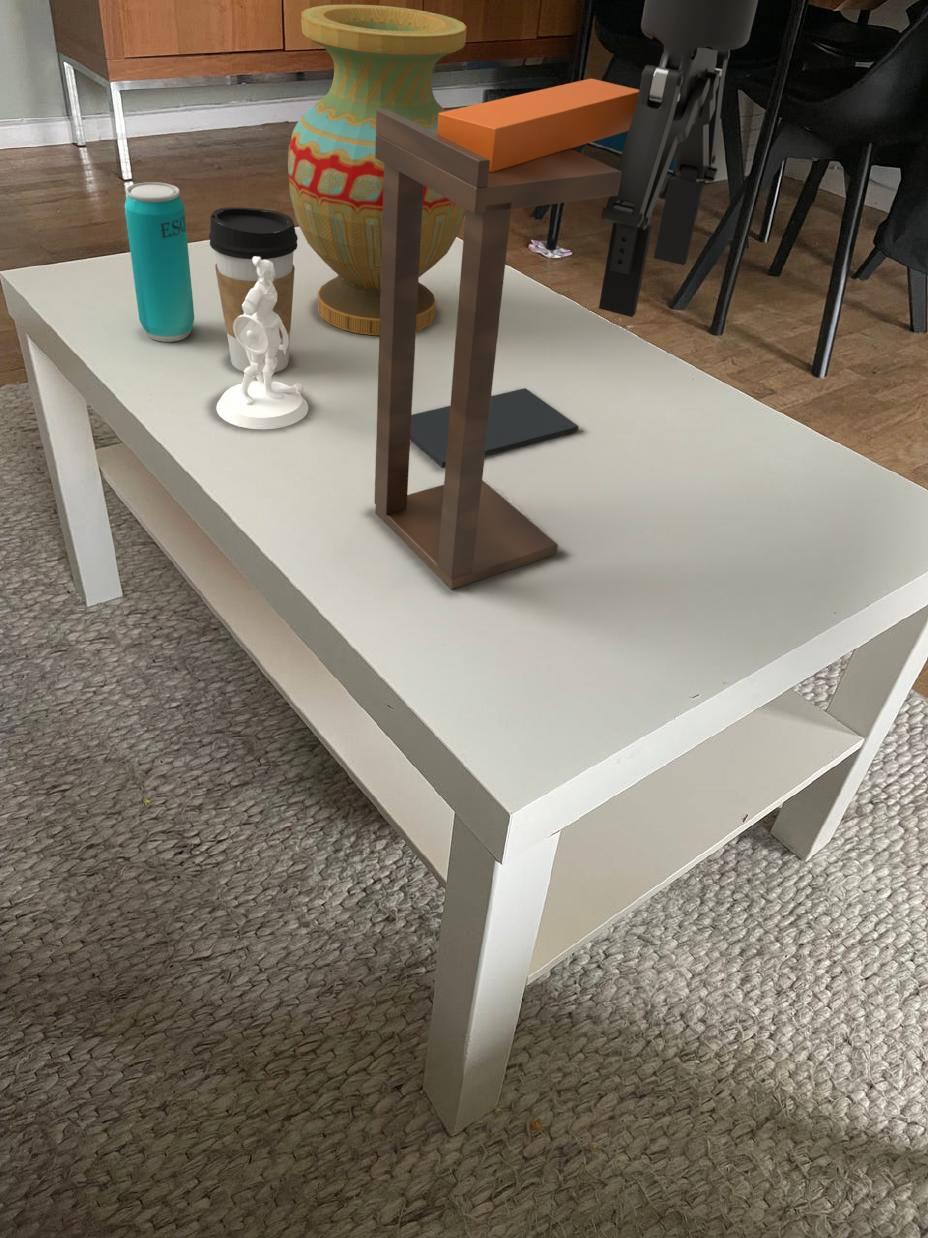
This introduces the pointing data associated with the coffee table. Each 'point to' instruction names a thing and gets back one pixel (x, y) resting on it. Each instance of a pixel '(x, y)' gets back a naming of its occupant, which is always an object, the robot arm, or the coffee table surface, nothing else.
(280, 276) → the coffee cup
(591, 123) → the orange block
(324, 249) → the vase
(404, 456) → the walnut rack
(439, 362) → the coffee table surface
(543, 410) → the rubber pad
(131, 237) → the beverage can
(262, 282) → the figurine
